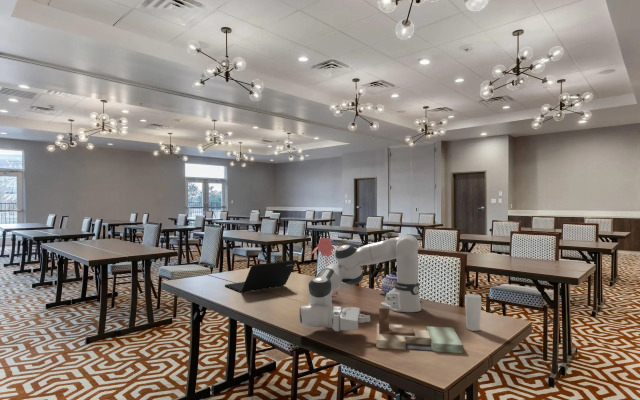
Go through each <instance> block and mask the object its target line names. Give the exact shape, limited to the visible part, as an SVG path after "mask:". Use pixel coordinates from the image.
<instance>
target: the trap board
mask: <svg viewBox="0 0 640 400" xmlns="http://www.w3.org/2000/svg"><path fill="white" fill-rule="evenodd" d="M389 327H397V328H404V326H403V324H395V323H394V324H393V323H389ZM414 333H415V336H409V335H392V334H379V323H376V346H375V347H376V348H379V349H396V350H408V351H409V350H410V351H422V352H423V351H426V352H439V353H440V352H443V353H454V354H464V344H463V343H462V341H461V339H460V337H459V336H458V334H457V332H456V330H455V329H454V327H450V326H449V327H446V326H429V325H427V326H425V329H423V330H422V329H414Z"/></svg>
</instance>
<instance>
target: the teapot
mask: <svg viewBox="0 0 640 400" xmlns="http://www.w3.org/2000/svg"><path fill="white" fill-rule="evenodd" d="M380 277H381V278H382V281H381V286H380V284H379V278H380ZM393 282H397V271H394V270H393V271H392V272H391V273H390V274H386V275H385V276H384V275H383V274H382V273H380V274H378V275H377V276H376V278H375V283H376V286H377V288H379V289H380V290H382V292H383V294H385V295H386V294H387V293H388V292H390V291H391V290H392V289H394V287H395V284H394V283H393Z"/></svg>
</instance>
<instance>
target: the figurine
mask: <svg viewBox="0 0 640 400" xmlns="http://www.w3.org/2000/svg"><path fill="white" fill-rule="evenodd" d="M340 246H341V245H340V244H339V245H337V248H339V247H340ZM317 250H318V251H319V252H320V254H321V256H322V257H325V263H326V266H328V265H329V264H328V260H327V259H328V258H329V257H330V256H334V257H336V254H333V250H335V246H333V242H332V241H331V238H330V236H329V237H327V238H325V237H324V236H323V237H322V238H319V243H317V246H316V247H315V248H314V249H313V250H312V252H311V255H313V254H314V253H316V251H317ZM337 292H338V289H337V290H336V291H335V292H333V294H334V295H335V294H336V293H337Z"/></svg>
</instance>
